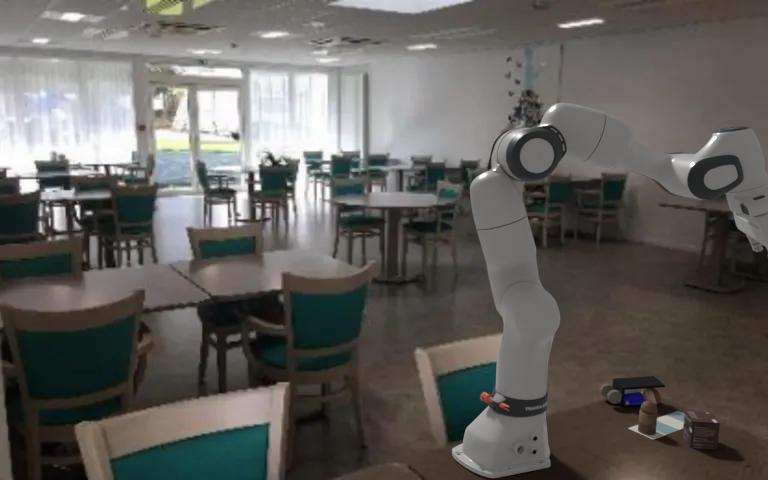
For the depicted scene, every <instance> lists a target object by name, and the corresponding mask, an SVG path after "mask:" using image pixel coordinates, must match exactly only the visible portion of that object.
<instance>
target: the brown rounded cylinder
mask: <svg viewBox="0 0 768 480" xmlns="http://www.w3.org/2000/svg"><path fill="white" fill-rule="evenodd" d="M638 412H639V414H638V424H637V425H638V431H639V432H640V433H642V434H645V435H654V434H656V426H657V418H658V413H659V412H658V405H655V403H654V402H652V401H644V402H643V403H642V404H640V408H639V411H638Z"/></svg>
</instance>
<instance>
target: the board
mask: <svg viewBox="0 0 768 480" xmlns="http://www.w3.org/2000/svg"><path fill="white" fill-rule="evenodd" d="M684 416H685V412H681V411H679V410H676V411H674V412H671V413H668V414H665V415H661V416H659V417H657V426H656V434H654V435H645V434H642V433H640V432H639V431H638V424H636V425H633V426H630V427H627V429H629V430H631V431H633V432H635V433H638V434H639V435H642V436H644V437H646V438H648V439H650V440H656V439H660V438H662V437H664V436H666V435H669V434H672V433H675V432H677V431H680V430H683V425H684Z"/></svg>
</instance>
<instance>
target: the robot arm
mask: <svg viewBox="0 0 768 480" xmlns="http://www.w3.org/2000/svg"><path fill="white" fill-rule="evenodd" d="M542 116H543V117H542V118H541V121H540V123H539V124H538V125H537V126H535V127H526V126H525V127H522V126H521V127H516V128H513V129H512V128H511V129H508V130H506V131H504V132H502V133H500V135H498V136H497V137H496V139H495V141H494V142H493V144H492V147H491V150H490V154H489V155H490V156H489V160H488V164H487V167H486V168H487V170H486V171H484V172H482V173H480V174H479V175H477V176H475V178H474V179H473V180H472V182H471V183H470V187H469V194H470V206H471V210H472V212H471V213H472V216H473V221H474V225H475V228H476V232H477V236H478V239H479V242H480V247H481V250H482V253H483V257H484V261H485V263H486V269H487V274H488V275H487V276H488V279H489V284H490V289H491V293H492V297H493V298H492V299H493V302H494V306H495V309H496V311H497V312H498V314H499V316H501V318H502V322H503V331H502V336H501V342H500V346H499V350H498V352H497V354H496V368H495V369H496V372H495V373H496V374H495V386H494V388H492V389H493V390H492V393H491V394H489V393H487V392H486V391H483V392H482V393H481V394H480V395H479V400H480V401H482V402H485V403H486V404H488V406H486V408H484V410H483V411H482V412H481V413H479V415H478V416H477V417H475V419H474V420H473V421H472V422H471V423H470V424H468V426H466V428H465V431H464V434H463V441H462V443H460V444H458V445H456V446H454V447H452V448H451V454H452V455H451V456H452V457H453V458H454V460H455V461H456V462H458V463H459V464H460V465H461V466H462V467H464V468H466V469H467V470H469V471H471V472H472V473H474V474H476V475H478V476H479V475H480V476H482V477H485V478H489V479H498V478H502V477H503V478H504V477H508V476H513V475H517V474H523V473H528V472H532V471H538V470H544V469H549V468H550V467H551V463H552V462H551V459H550V456H551V449H550V447H549V440H548V439H549V437H548V436H549V435H548V426H547V417H546V412H547V410H548V404H549V392H548V391H547V383H548V371H549V370H548V369H549V368H548V367H549V358H550V354H551V349H552V345H553V342H554V339H555V338H554V337H555V334H556V332H557V331H558V329H559V327H560V323H561V313H560V309H559V306H558V302H557V301H556V299H555V298H554V296H553V295H552V294H550V293H549V292H548V291H547V290H546V289H545V288H544V286H543V285H542V281H541V279H540V275H539V270H538V269H539V268H538V261H537V246H536V243H535V239H534V235H533V231H532V229H531V224H530V221H529V218H528V213H527V210H526V207H525V204H524V201H523V200H524V198H523V196H524V195H523V190H524V187H525V184H526V182H529V183H534V182H539V181H542V180H544V179H545V178H547V177H549V176H550V175H551V174H553V172H554V170H556V168H557V166H558V165H559V164H560V162H561V160H562V159H563V158H564V157H569V158H572V159H574V160H576V161H578V162H581V163H585V164H587V165H591V166H593V167H600V168H605V169H616V168H622V169H624V170H625V169H626V170H628V171H630V172H633V173H636V174H639V175H640V176H642V177H643V176H644V177H647V178H649V179H651V180H652V181H653V182H655V184H657V186H658V187H659V188H660V189H662V191H664V193H666V194H668V195H670V196H673V197H682V198H683V197H685V198H689V199H695V200H700V201H710V200H712V201H713V200H715V199H718V198H719V197H721V196H724V195H725V196H726V200H727V205H728V207H729V210H730V211H731V212H732V214H733V218H734V222H735V227H736V228H737V230H739V231H740V232H742V233H744V234H745V236H746V237H747V239H748V241H749V243H750V245H751V249H752V251H754V252H755V253H759V252H763V250H764V248H763V246H764V247H765V249H766V250H767V251H768V173H767V171H766V169H765V168H766V167H765V163H766V161H765V156H764V153H763V150H762V147H761V143H760V141H759V139H758V137H757V134H756V133H755V131H754V130H753V129H752V128H750V127H749V126H744V125H743V126H729V127H724V128H720V129H718V130H715V131H713V133H712V135H711V137H710V139H709V140H708V142H706V144H705V145H704V146H703V147H702V148H701V149H700V150H699V151H697V152H696V153H690V152H685V151H684V152H681V151H679V152H676V151H675V152H662V151H661V150H657V149H655V148H653V147H649V146H647V145H645V144H642V143H640V142H637V141H636V140H635V135H634V131H633V129H632V127H631V126H630V125H629V124H627V123H626V122H625V121H623V120H621V119H619V118H618V117H616V116H614V115H612V114H610V113H607V112H604V111H602V110H599V109H596V108H592V107H588V106H583V105H581V104H576V103H575V104H574V103H570V102H569V103H568V102H557V103H554V104H552V105H551V106H550V107H549V108H547V110H546V112H544V114H543V115H542ZM767 257H768V254H767Z"/></svg>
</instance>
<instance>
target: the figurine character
mask: <svg viewBox="0 0 768 480" xmlns="http://www.w3.org/2000/svg"><path fill="white" fill-rule="evenodd" d="M665 386H666V385H665V384H664V383H663V382H662V381H661V380H660V379H659V378H657V377H655V375H650V376H649V375H648V376H647V375H646V376H634V377H633V376H632V377H617V378H616V377H615V378H613V379H612V384H610V383H603V384H602V385H600V387H599V390H598V391H599V393H600V394H601V396H603V397H605V398H606V399H607V400H608V401H609V402H610V403H611V404H614V405H615V404H618V405H620V406H622V407H623V406H639V405H640V406H641V404H642V403H643V402H644V401H652V402H654V403H655V405H656V406H658V405H659V404H660V403H661V400H662V396H661V393H660V391H658V388H659V389H660V388H665ZM627 390H629V391H630V390H642V391H637V392H636V391H635V392H626V391H627Z"/></svg>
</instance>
